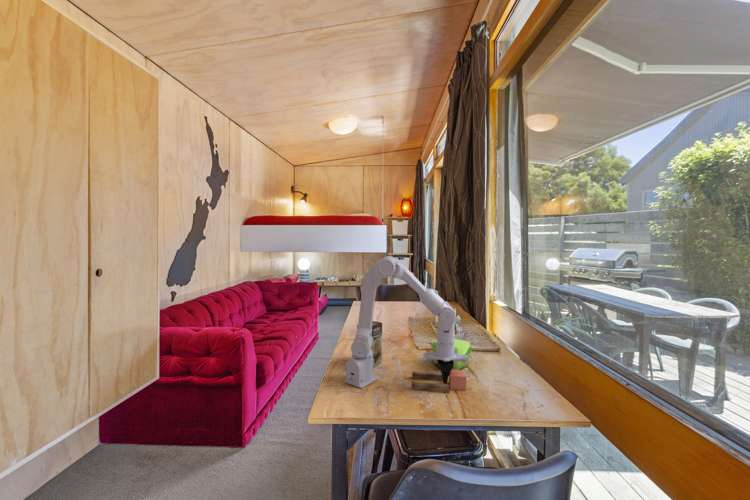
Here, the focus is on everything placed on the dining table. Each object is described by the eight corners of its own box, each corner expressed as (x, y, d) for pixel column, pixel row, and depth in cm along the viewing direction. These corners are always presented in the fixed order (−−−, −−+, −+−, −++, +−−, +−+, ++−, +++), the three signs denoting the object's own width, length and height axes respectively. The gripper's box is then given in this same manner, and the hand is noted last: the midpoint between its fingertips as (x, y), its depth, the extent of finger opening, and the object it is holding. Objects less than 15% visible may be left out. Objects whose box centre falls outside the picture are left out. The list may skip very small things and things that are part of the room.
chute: (411, 390, 108) (411, 384, 108) (412, 376, 118) (412, 371, 118) (449, 392, 106) (449, 386, 106) (446, 379, 116) (446, 373, 116)
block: (450, 389, 109) (450, 375, 109) (449, 382, 114) (449, 369, 114) (466, 390, 108) (466, 376, 108) (464, 383, 113) (464, 370, 113)
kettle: (476, 374, 121) (477, 343, 120) (437, 375, 120) (438, 344, 119) (462, 358, 136) (463, 331, 135) (428, 359, 135) (428, 332, 134)
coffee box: (370, 370, 123) (370, 327, 122) (355, 367, 127) (356, 325, 126) (382, 362, 131) (383, 322, 130) (368, 359, 134) (369, 319, 133)
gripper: (423, 344, 108) (423, 385, 109) (469, 347, 106) (469, 388, 107) (423, 337, 115) (423, 376, 116) (466, 340, 113) (466, 379, 113)
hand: (445, 381), depth 111 cm, fingers closed
